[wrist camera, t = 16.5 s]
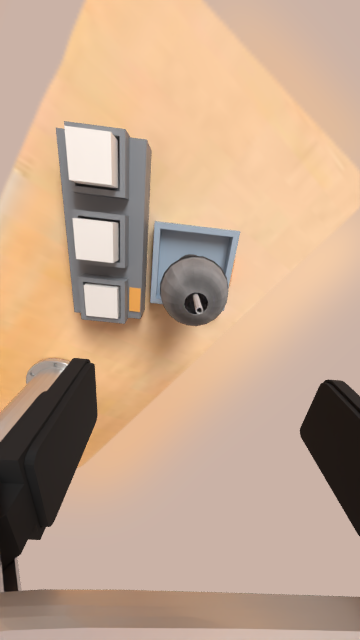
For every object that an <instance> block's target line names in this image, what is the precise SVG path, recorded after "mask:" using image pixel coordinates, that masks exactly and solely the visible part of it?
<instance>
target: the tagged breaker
mask: <svg viewBox="0 0 360 640" xmlns="http://www.w3.org/2000/svg"><path fill="white" fill-rule="evenodd" d="M84 295H85V308H86V316H95V317H105V318H115V319H118V317H119V316H120V314H121V294H120V286H119V285H109V284H100V283H91V282H88V283H86V284H85V285H84Z"/></svg>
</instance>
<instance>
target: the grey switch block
mask: <svg viewBox="0 0 360 640" xmlns="http://www.w3.org/2000/svg"><path fill="white" fill-rule="evenodd" d="M64 125H65V126H64V128H65V129H61V128H56V134H57V144H58V154H59V164H60V173H61V183H62V193H63V203H64V213H65V223H66V233H67V242H68V252H69V262H70V272H71V282H72V292H73V302H74V312H79V313H81V318H82V319H84V320H93V321H103V322H113V323H123V324H125V323H126V321H127V319H128V318H138V319H141V316H142V314H143V312H144V310H145V289H146V266H147V243H148V220H149V197H150V173H151V148H150V146H149V144H148V141H147V140H145V139H138V138H130V136H129V134H128V133H127V131H126V130H125V129H120V128H112V127H104V126H97V125H89V124H82V123H74V122H66V121H64ZM88 282H91V283H100V284H109V285H119V286H120V294H121V314H120V316H119V317H118V319H115V318H105V317H95V316H86V308H85V295H84V285H85V284H86V283H88Z"/></svg>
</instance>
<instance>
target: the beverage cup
mask: <svg viewBox="0 0 360 640" xmlns="http://www.w3.org/2000/svg"><path fill="white" fill-rule="evenodd" d="M160 296H161V300H162V303H163V305H164V308H165V309H166V311H167V312H168V313H169V315H170V316H171V317H173V318H174V319H175V320H176V321H178V322H180V323H182V324H185V325H191V326H199V325H203V324H207V323H209V322H210V321H212V320H214V319H215V318H216V317H217V316H218V315H219V314H220V313H221V312H222V310H223V308H224V307H225V305H226V303H227V297H228V282H227V277H226V275H225V273H224V272H223V270H222V268H221V267H220V266H219V265H218V264H217V263H215V262H214V261H213V260H210V259H208V258H206V257H204V256H197V255H194V254H188V255H184V256H183V257H181V258H180V259H179V260H177V261H176V262H174V263H172V264H171V265H170V266H169V267H168V269H167V270H166V271H165V272H164V274H163V277H162V279H161V282H160Z"/></svg>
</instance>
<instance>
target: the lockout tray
mask: <svg viewBox="0 0 360 640" xmlns="http://www.w3.org/2000/svg"><path fill="white" fill-rule="evenodd" d="M239 235H240V231H233V230H225V229H216V228H208V227H199V226H191V225H182V224H174V223H165V222H157V221H155V226H154V244H153V263H152V281H151V300H150V303H157V304H163V303H162V300H161V296H160V282H161V279H162V277H163V274H164V272H165V271H166V270H167V269H168V267H169V266H170V265H171V264H172V263H174V262H176V261H177V260H179V259H180V258H181V257H183V256H184V255H188V254H194V255H197V256H204V257H206V258H208V259H210V260H213V261H214V262H215V263H217V264H218V265H219V266H220V267H221V268H222V270H223V272H224V273H225V275H226V277H227V282H228V288H229V286H230V281H231V277H232V272H233V267H234V262H235V254H236V249H237V245H238V240H239ZM224 308H225V307H224ZM224 308H223V311H224Z"/></svg>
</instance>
